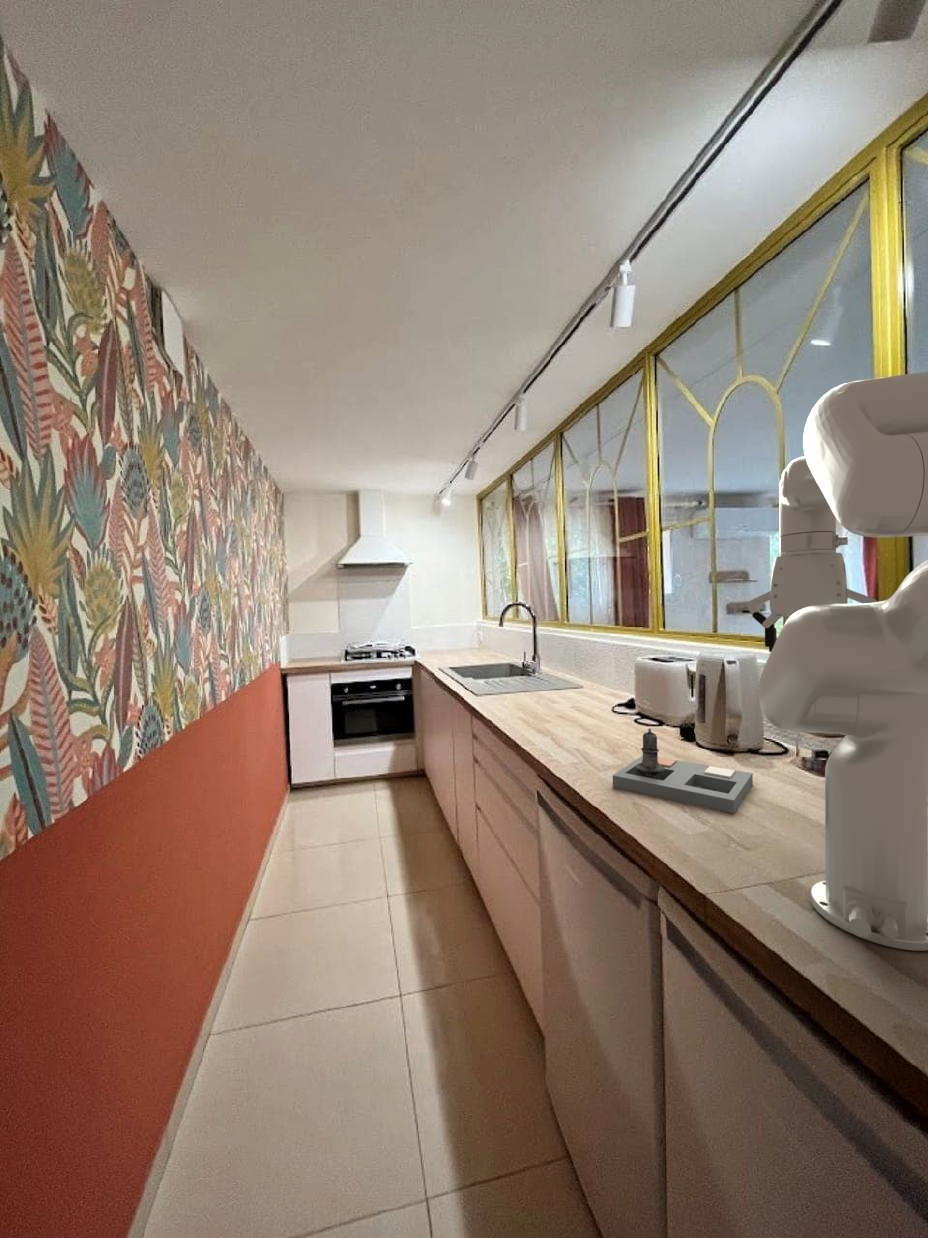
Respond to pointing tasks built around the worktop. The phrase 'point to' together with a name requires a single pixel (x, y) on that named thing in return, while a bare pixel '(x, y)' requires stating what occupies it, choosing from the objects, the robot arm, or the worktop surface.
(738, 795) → the socket board
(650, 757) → the salt shaker
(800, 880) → the worktop surface
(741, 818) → the worktop surface
